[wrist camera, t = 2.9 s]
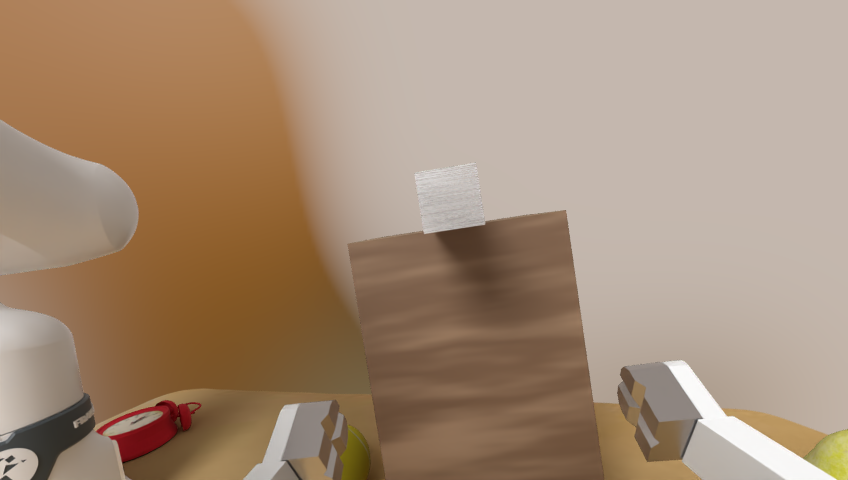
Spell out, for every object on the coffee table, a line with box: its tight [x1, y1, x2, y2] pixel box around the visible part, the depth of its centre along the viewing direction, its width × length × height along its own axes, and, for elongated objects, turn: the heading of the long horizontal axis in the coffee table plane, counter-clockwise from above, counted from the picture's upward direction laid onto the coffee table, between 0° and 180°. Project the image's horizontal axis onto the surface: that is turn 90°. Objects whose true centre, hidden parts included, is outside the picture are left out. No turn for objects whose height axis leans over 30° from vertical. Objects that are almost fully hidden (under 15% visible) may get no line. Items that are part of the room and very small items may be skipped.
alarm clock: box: [96, 400, 201, 462], centre depth 58 cm, size 10×6×15 cm
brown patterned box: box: [348, 210, 604, 480], centre depth 34 cm, size 14×17×26 cm
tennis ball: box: [340, 425, 370, 480], centre depth 39 cm, size 7×7×7 cm
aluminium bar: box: [415, 163, 485, 234], centre depth 29 cm, size 22×3×3 cm, turn 175°
